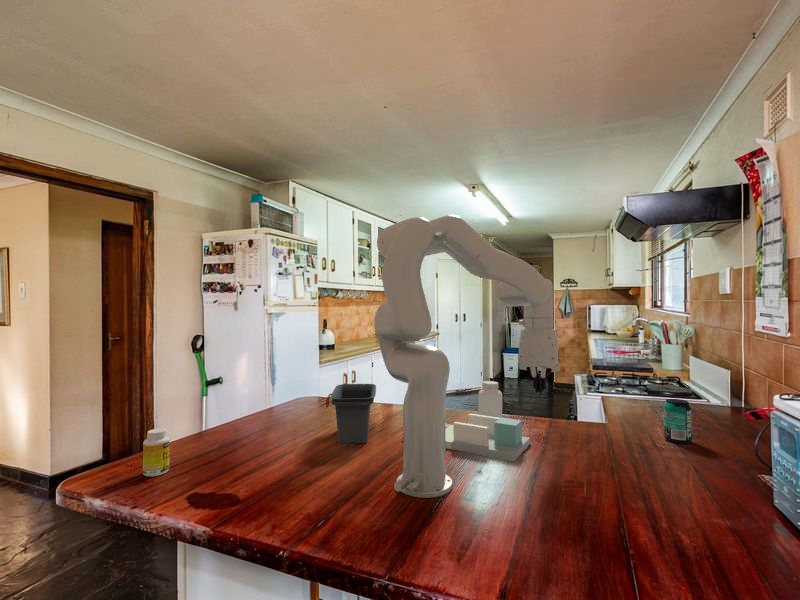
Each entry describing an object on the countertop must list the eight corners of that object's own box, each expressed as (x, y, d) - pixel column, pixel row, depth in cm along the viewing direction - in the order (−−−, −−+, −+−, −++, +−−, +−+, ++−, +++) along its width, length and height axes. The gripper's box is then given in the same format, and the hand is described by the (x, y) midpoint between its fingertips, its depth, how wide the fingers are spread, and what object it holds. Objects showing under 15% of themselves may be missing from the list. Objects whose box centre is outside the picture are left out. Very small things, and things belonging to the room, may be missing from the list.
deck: (514, 461, 106) (514, 434, 106) (402, 439, 124) (402, 416, 124) (530, 444, 120) (529, 420, 120) (427, 426, 138) (427, 405, 138)
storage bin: (375, 446, 118) (375, 397, 119) (321, 447, 118) (321, 397, 118) (376, 425, 140) (376, 383, 140) (330, 426, 139) (330, 383, 139)
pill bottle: (504, 430, 134) (504, 384, 134) (480, 430, 134) (480, 384, 134) (499, 423, 142) (499, 380, 142) (476, 423, 142) (476, 380, 142)
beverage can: (683, 437, 126) (682, 398, 127) (697, 445, 119) (696, 403, 120) (659, 436, 127) (658, 398, 127) (671, 444, 120) (671, 403, 120)
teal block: (515, 447, 111) (515, 425, 111) (494, 444, 114) (494, 422, 114) (521, 441, 116) (521, 420, 116) (501, 438, 119) (501, 417, 120)
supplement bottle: (165, 476, 97) (165, 433, 98) (139, 478, 96) (139, 434, 96) (172, 467, 103) (172, 426, 103) (147, 469, 101) (147, 428, 102)
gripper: (507, 324, 112) (508, 391, 112) (565, 325, 104) (566, 397, 104) (515, 323, 119) (516, 386, 118) (570, 324, 111) (571, 391, 111)
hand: (539, 391), depth 111 cm, fingers closed
